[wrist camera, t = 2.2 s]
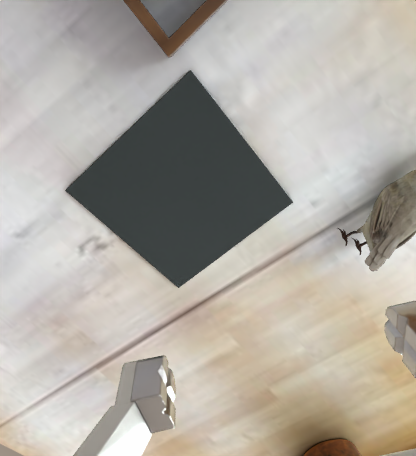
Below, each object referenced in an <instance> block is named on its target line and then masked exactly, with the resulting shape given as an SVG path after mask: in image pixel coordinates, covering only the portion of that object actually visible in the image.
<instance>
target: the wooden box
mask: <svg viewBox="0 0 416 456" xmlns="http://www.w3.org/2000/svg"><path fill="white" fill-rule="evenodd" d="M227 1H228V0H206V1H205V2H204V3H203V4H202V5H201V6H200V7H199V8H198V9H197V10H196V11H195V12H194V14H193V15H192V16H191V17H190V18H189V19H188V20H187V21H186V22H185V23H184V24H183V25H182V26H181V27H180V28H179V29H178V30H177V31H176V32H175V33H174V34H173V35H172V36H171V37H170V38H168V36H167V35H166V34H165V32H164V31H163V30H162V28H161V27H160V26H159V25H158V23H157V22H156V21H155V19H154V18H153V17H152V15H151V14H150V13H149V12H148V10H147V9H146V8H145V6H144V5H143V4H142V3H141V1H140V0H124V2H125V3H126V4H127V6H128V7H129V8H130V9H131V11H132V12H133V13H134V14H135V16H136V17H137V18H138V19H139V21H140V22H141V23H142V24H143V26H144V27H145V28H146V30H147V31H148V32H149V33H150V35H151V36H152V37H153V38H154V40H155V41H156V42H157V43H158V45H159V46H160V47H161V48H162V50H163V51H164V52H165V53H166V55H167V56H168V57H172V56H173V55H174V54H175V53H176V52H177V51H178V50H179V49H180V48H181V47H182V46H183V45H184V44H185V43H186V42H187V41H188V40H189V39H190V38H191V37H192V36H193V35H194V34H195V33H196V32H197V31H198V30H199V29H200V28H201V27H202V26H203V25H204V24H205V23H206V22H207V21H208V20H209V19H210V18H211V17H212V16H213V15H214V14H215V13H216V12H217V11H218V10H219V9H220V8H221V7H222V6H223V5H224V4H225V3H226V2H227Z"/></svg>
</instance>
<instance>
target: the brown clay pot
mask: <svg viewBox="0 0 416 456" xmlns="http://www.w3.org/2000/svg"><path fill="white" fill-rule="evenodd" d="M304 456H361V454H360V453H359V451H358V450H357V448H356V447H355V445H354V444H353V443H352V442H350V441H348V440H345V439H334V440H328V441H324V442H321V443H319V444H317V445H315V446H314V447H312V448H311V449H309V450H308V451H307V452H306V453H305V455H304Z"/></svg>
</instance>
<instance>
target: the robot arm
mask: <svg viewBox="0 0 416 456" xmlns="http://www.w3.org/2000/svg"><path fill="white" fill-rule="evenodd" d="M385 315H386V316H387V318H388V319H389V320H388V321H387V322H386V323H385V334H386V338H387V340H388V342H389V344H390V345H391V347H392V348H393V349H394V351H396V352H398V353H400V354H402V355H403V359H402V361H403V363H404V364H405V365H406V367H407V368H408V369H409V371H410V372H411V373H412V375H413V376H414V377H415V378H416V301H412V302H407V303H403V304H398V305H394V306H390V307H387V309H386V314H385ZM175 397H176V387H175V380H174V375H173V372H172V370H171V369H169V368H168V360H167V358H166V356H158V357H153V358H148V359H142V360H138V361H133V362H128V363H124V365H123V367H122V371H121V377H120V382H119V387H118V392H117V397H116V402H115V406H111V407H110V408H109V409H108V411H107V412H106V413H105V415H104V416H103V417H102V419H101V420H100V421H99V422H98V424H97V425H96V426H95V428H94V429H93V430H92V432H91V433H90V434H89V435H88V437H87V438H86V439H85V441H84V442H83V443H82V445H81V446H80V447H79V449H78V450H77V451H76V452H75V454H74V455H73V456H141V455H142V453H143V451H144V449H145V447H146V445H147V443H148V441H149V439H150V437H151V436H152V434H151V433H155V432H160V431H164V430H168V429H172V428H175V410H176V409H175V406H174V404H173V400H174V399H175ZM381 456H416V449H411V450H406V451H401V452H396V453H391V454H386V455H381Z"/></svg>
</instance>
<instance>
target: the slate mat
mask: <svg viewBox="0 0 416 456" xmlns="http://www.w3.org/2000/svg"><path fill="white" fill-rule="evenodd" d="M66 191H67V192H68V193H69V194H70V195H71V196H72V197H74V198H75V199H76V200H77V201H78V202H79V203H81V204H82V205H83V206H84V207H85V208H86V209H87V210H89V211H90V212H91V213H92V214H93V215H94V216H96V217H97V218H98V219H99V220H100V221H101V222H103V223H104V224H105V225H106V226H107V227H108V228H110V229H111V230H112V231H113V232H114V233H115V234H117V235H118V236H119V237H120V238H121V239H122V240H123V241H125V242H126V243H127V244H128V245H129V246H130V247H132V248H133V249H134V250H135V251H136V252H137V253H139V254H140V255H141V256H142V257H143V258H144V259H146V260H147V261H148V262H149V263H150V264H151V265H152V266H154V267H155V268H156V269H157V270H158V271H159V272H161V273H162V274H163V275H164V276H165V277H166V278H168V279H169V280H170V281H171V282H172V283H173V284H175V285H176V286H177V287H178V288H179V287H181V286H182V285H183V284H185V283H186V282H187V281H189V280H190V279H191V278H193V277H194V276H195V275H197V274H198V273H199V272H201V271H202V270H203V269H205V268H206V267H207V266H209V265H210V264H211V263H213V262H214V261H215V260H217V259H218V258H219V257H221V256H222V255H223V254H225V253H226V252H227V251H229V250H230V249H231V248H233V247H234V246H235V245H237V244H238V243H239V242H241V241H242V240H243V239H245V238H246V237H247V236H249V235H250V234H251V233H253V232H254V231H255V230H257V229H258V228H259V227H261V226H262V225H263V224H265V223H266V222H267V221H269V220H270V219H271V218H273V217H274V216H275V215H277V214H278V213H279V212H281V211H282V210H283V209H285V208H286V207H287V206H289V205H290V204H291V203H293V202H292V200H291V199H290V198H289V197H288V195H287V194H286V193H285V191H284V190H283V189H282V188H281V186H280V185H279V184H278V182H277V181H276V180H275V178H274V177H273V176H272V175H271V173H270V172H269V171H268V169H267V168H266V167H265V166H264V164H263V163H262V162H261V160H260V159H259V158H258V157H257V155H256V154H255V153H254V151H253V150H252V149H251V148H250V146H249V145H248V144H247V142H246V141H245V140H244V138H243V137H242V136H241V135H240V133H239V132H238V131H237V129H236V128H235V127H234V126H233V124H232V123H231V122H230V120H229V119H228V118H227V117H226V115H225V114H224V113H223V111H222V110H221V109H220V107H219V106H218V105H217V104H216V102H215V101H214V100H213V98H212V97H211V96H210V95H209V93H208V92H207V91H206V89H205V88H204V87H203V86H202V84H201V83H200V82H199V80H198V79H197V78H196V76H195V75H194V74H193V73H192V71H191V70H190V71H189V72H188V73H187V74H186V75H185V76H184V77H183V78H182V79H181V80H180V81H179V82H178V83H177V84H176V85H174V86H173V87H172V88H171V89H170V90H169V91H168V92H167V93H166V94H165V95H164V96H163V97H162V98H161V99H160V100H159V101H158V102H157V103H156V104H155V105H154V106H153V107H152V108H151V109H149V110H148V111H147V112H146V113H145V114H144V115H143V116H142V117H141V118H140V119H139V120H138V121H137V122H136V123H135V124H134V125H133V126H132V127H131V128H130V129H129V130H128V131H127V132H126V133H124V134H123V135H122V136H121V137H120V138H119V139H118V140H117V141H116V142H115V143H114V144H113V145H112V146H111V147H110V148H109V149H108V150H107V151H106V152H105V153H104V154H103V155H102V156H101V157H99V158H98V159H97V160H96V161H95V162H94V163H93V164H92V165H91V166H90V167H89V168H88V169H87V170H86V171H85V172H84V173H83V174H82V175H81V176H80V177H79V178H78V179H77V180H76V181H74V182H73V183H72V184H71V185H70V186H69V187H68V188H67V189H66Z"/></svg>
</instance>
